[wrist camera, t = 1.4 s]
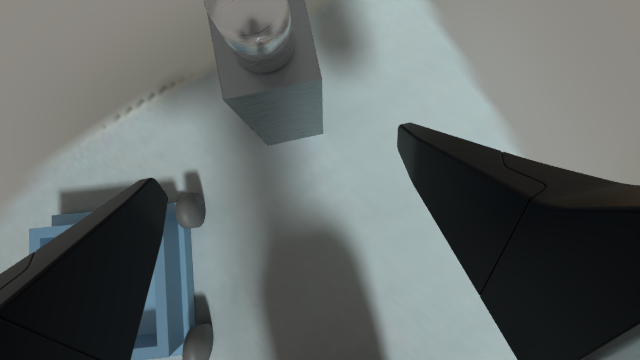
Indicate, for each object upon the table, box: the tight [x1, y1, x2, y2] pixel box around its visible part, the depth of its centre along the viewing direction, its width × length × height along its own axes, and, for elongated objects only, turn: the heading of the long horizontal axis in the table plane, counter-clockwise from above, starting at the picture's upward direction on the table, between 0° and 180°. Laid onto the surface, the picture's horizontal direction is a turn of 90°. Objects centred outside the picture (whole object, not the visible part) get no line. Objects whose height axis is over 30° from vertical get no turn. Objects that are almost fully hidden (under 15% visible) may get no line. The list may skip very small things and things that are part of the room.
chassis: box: [29, 193, 213, 360], centre depth 20 cm, size 13×12×3 cm
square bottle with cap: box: [204, 0, 323, 145], centre depth 16 cm, size 5×5×13 cm
